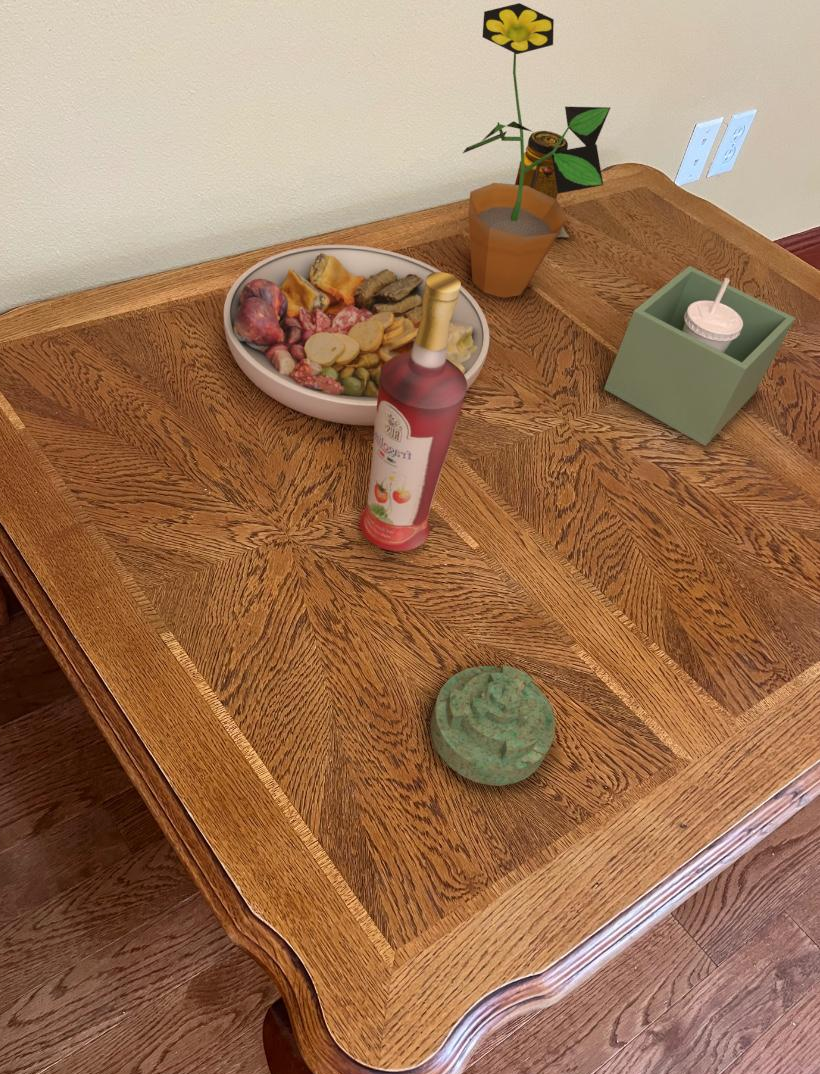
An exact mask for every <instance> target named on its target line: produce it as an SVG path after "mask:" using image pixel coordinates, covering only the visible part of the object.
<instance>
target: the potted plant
mask: <svg viewBox="0 0 820 1074" xmlns="http://www.w3.org/2000/svg"><path fill="white" fill-rule="evenodd" d="M554 21H555V19H554V18H552V17H550V16H548V15H545V14H544V13H542V12H539V11H538V10H535V9H532V8H531V7H529V6H526V5H524V4H523V3H520V2H518V3H514V4H510V5H506V6H502V7H498V8H493V9H489V10H485V11H483V23H482V38H483V39H485V40H488V41H489V42H491V43H493V44H495V45H497V46H500V47H502V48H503V49H505V50H508V51H509V52H512V53H513V61H512V62H513V63H512V66H513V67H512V76H513V85H514V94H515V104H516V112H517V121H518V122H516V121H515V120H514V121H511V122H510V123H508V124H506V125H504V124H502V123H501V124H500V122H499V121H497V125H496V126H495V127H493V128H492V130H491V131H490V132H489V133H488V134H487V135H485V137H484V138H483V139H482V140H481V141H480V142H477V143H473V144H472V145H469V146H467V147H466V148H465V149H464V150H463V152H462V153H461V154H465V153H468V152H470V151H472V150H475V149H477V148H481V147H482V146H485V145H487V144H490V143H492V142H495V141H497V140H499V139H500V140H501V141H502V142H519V143H520V144H519V145H520V161H521V174H520V181H519V185H515V184H513V183H512V184H511V183H502V182H501V183H500V182H492V183H489V184H487V185H484V186H482V187H479V188H477V189H474V190H471V191H470V193H469V202H468V209H467V210H468V211H467V212H468V227H469V228H468V229H469V245H470V246H469V247H470V265H471V280H472V283H473V284H474V285H475V286H476V287H477V288H478V289H479V290H481V292H483V293H484V294H488V295H491V296H495V297H499V298H502V299H504V298H511V297H512V298H513V297H518V296H521V295H522V293H523V292H524V291H525V290H526V288H527V287H528V286H529V284H530V282H531V280H532V279H533V277H534V275H535V274H536V272H537V270H538V269H539V267H540V265H541V264H542V262H543V261H544V259H545V257H546V256H547V254H548V252H549V251H550V249H551V247H552V246H553V244H554V243H555V241H556V239H557V238H558V237H557V236H558V234H559V232H560V231H561V229H562V227H563V228H564V226H565V224H566V222H567V221H568V219H569V217H568V216H567V214H566V212H565V211H564V209H563V207H562V206H561V205H560V202H558V199H557V198H556V199H554V198H552V197H550V196H548V195H546V194H544V193H541V192H539V191H537V190H535V189H533V188H531V187H529V186H524V185H523V179H524V173H526V172H527V171H529V170H530V169H532V168H533V167H535V166H536V165H538V164H539V163H541V162H542V161H544V160H545V159H547V158H548V157H550V156H551V155H552V159H553V166H554V172H555V178H556V184H557V191H558V194H564V193H568V192H569V193H570V192H574V191H580V190H584V189H590V188H591V189H592V188H596V187H601V186H604V181H603V174H602V169H601V164H600V163H601V162H600V157H599V151H598V145H597V144H596V143H597V141H598V139H599V136H600V134H601V132H602V129H603V126H604V125H605V122H606V120H607V117H608V115H609V113H610V110H611V107H610V106H609V107H608V106H607V107H605V106H603V107H602V106H564V110H565V117H566V124H567V125H566V126H567V128H566V129H565V131H564V132H563V134H561V136H562V137H561V138H560V140H559V141H558V143H557V144H556V146H555V147H554V149H553V150H552V152H550V153H548V154H547V155H545V156H544V157H542V158H540V159H539V160H537V161H535V162H534V163H532V164H531V165H529V166H527V167H526V168H525V167H524V153H525V145H524V144H525V143H524V142H525V141H524V140H525V139H524V131H527V132H532V133H534V131H533V130H531V129H529V128H527V127H525V126H524V125H523V121H522V116H521V115H522V114H521V107H520V100H519V91H518V82H517V74H516V73H517V72H516V71H517V55H519V54H520V55H521V54H523V53H527V52H532V51H536V50H539V49H543V48H547V47H551V46H554V23H555V22H554ZM506 127H508V128H514V129H518V130H519V136H506V134H507V133H508V130H506V131H503V129H504V128H506ZM569 130H570V131H571V132H572V133H573V135H574V136H575V137H577V138H578V140H580V142H581V143H583V144H584V145H583V146H579V147H574V148H569V149H568V148H567V150H562V151H557V152H555V151H556V150H557V148H558V146H559V144H560V143H561V141H562V139H563V138H564V139H565V136H566V134H567V133H568V131H569ZM497 132H499V134H496V133H497ZM495 134H496V135H495ZM493 135H494V136H493ZM491 136H492V137H491Z"/></svg>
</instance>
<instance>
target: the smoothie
mask: <svg viewBox="0 0 820 1074" xmlns="http://www.w3.org/2000/svg"><path fill="white" fill-rule="evenodd" d="M722 282H723V284H722V286H721V288H720V290H719V292H718V295H717V297H716V299H715V301H706V300H703V301H697V302H694V303H692V304H690V305H689V307H688V309H687V311H686V312H685V315H684V320H685V324H684V327H683V331H682V332H684V333H686V334H688V335H690V336H692V337H694V338H696V339H698V340H700V341H702V342H703V343H705V344H707V345H709V346H711V347H713V348H715V349H717V350H719V351H721V352H723V353H724V352H725V350H726V349H727V348H728V346H729V345H730V343H731V341H732V340H733V339H735V338H737V337H738V336H739V335H740V331H741V329H742V327H743V321H742V319H741V317H740V316H739V314H738V313H737V312H735V311H734V310H733V309H731V308H730V307H728V306H726V305H724V304H721V303H720V300H721V298H722V296H723V294H724V292H725V290H726V288H727V285H729V284H730V278H728V277H724V280H723V281H722Z"/></svg>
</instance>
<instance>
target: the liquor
mask: <svg viewBox="0 0 820 1074" xmlns="http://www.w3.org/2000/svg"><path fill="white" fill-rule="evenodd" d="M461 284H462V283H461V281H460V279H459V278H458V277H457V276H456V275H453V274H452V273H448V272H443V271H441V272H435V273H431V274H429V275H428V276H427V278H426V282H425V287H424V293H423V298H422V306H423V315H422V319H421V322H420V325H419V329H418V332H417V335H416V339H415V342H414V345H413V349H412V352H408V353H404V354H400V355H397V356H395V357H393V358H391V359H389V360H388V361H387V362H386V363H385V364H384V365H383V367H382V369H381V372H380V379H379V390H378V399H377V408H376V417H375V426H374V430H373V442H372V443H373V444H372V456H371V457H372V458H371V466H370V473H369V474H370V475H369V483H368V494H367V499H366V507H365V508H364V509H363V511H362V512H361V514H360V517H359V527H360V530H361V533H362V534H363V536H364V537H365V538H366V539H367V540H368V541H369V542H370V543H372V544H373V545H375V546H377V547H379V548H381V549H383V550H387V551H393V552H406V551H411V550H414V549H416V548H418V547H420V546H421V545H423V544H424V543H425V541H426V540H428V538H429V535H430V529H431V525H430V521H429V520H428V519H429V516H430V512H431V509H432V505H433V501H434V498H435V494H436V492H437V488H438V485H439V481H440V478H441V475H442V470H443V468H444V464H445V462H446V459H447V456H448V453H449V451H450V447H451V443H452V441H453V438H454V435H455V431H456V428H457V424H458V421H459V417H460V414H461V412H462V411H461V410H462V408H463V405H464V401H465V397H466V395H467V391H468V390H467V381H466V378H465V376H464V374H463V373H462V372H461V370H460V369H459V368H458V367H457V366H455V365H454V364H453V363H452V362H450V361H449V360H448V359H446V354H447V345H448V336H449V327H450V320H451V317H452V315H453V312H454V310H455V307H456V305H457V300H458V296H459V291H460V286H462V285H461Z"/></svg>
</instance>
